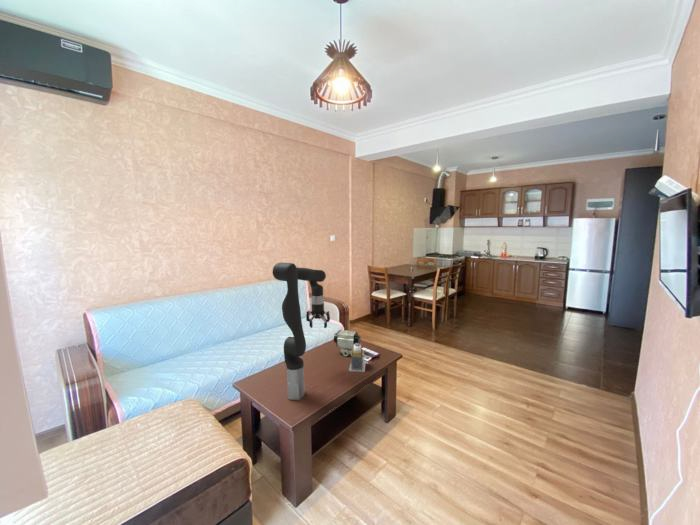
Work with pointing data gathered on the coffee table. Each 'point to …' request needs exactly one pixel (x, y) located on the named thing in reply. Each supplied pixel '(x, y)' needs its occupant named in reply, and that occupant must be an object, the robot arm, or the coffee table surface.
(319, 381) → the coffee table surface
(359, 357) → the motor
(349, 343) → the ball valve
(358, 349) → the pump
